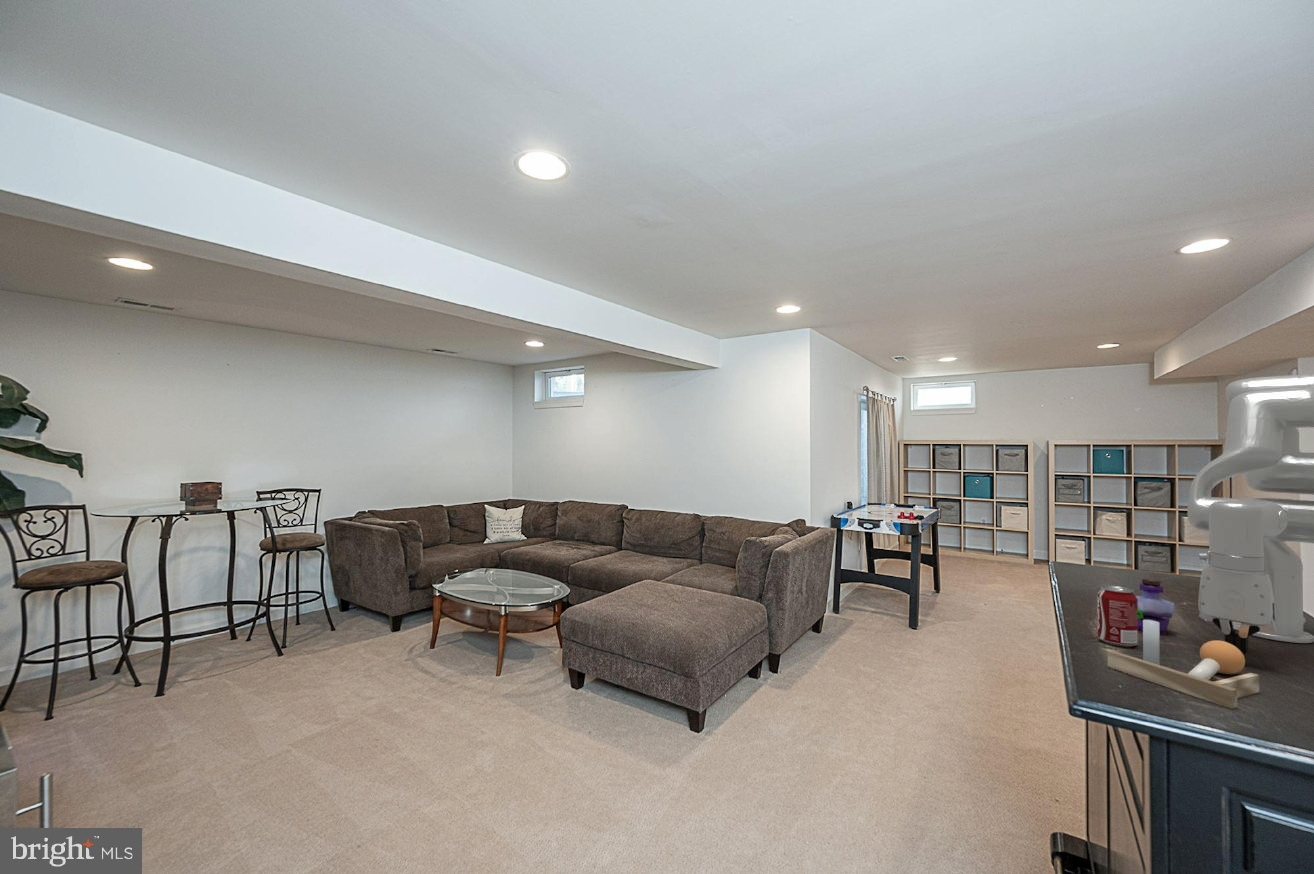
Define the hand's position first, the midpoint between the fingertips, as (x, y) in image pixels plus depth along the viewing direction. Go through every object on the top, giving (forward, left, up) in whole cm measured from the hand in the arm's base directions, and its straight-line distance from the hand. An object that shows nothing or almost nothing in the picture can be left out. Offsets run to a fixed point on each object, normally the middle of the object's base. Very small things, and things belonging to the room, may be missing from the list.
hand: (1236, 654), depth 109 cm
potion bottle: (-7, -18, -2) cm, 20 cm away
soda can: (+11, -15, -2) cm, 18 cm away
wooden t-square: (+21, +2, -2) cm, 21 cm away
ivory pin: (+15, +3, +1) cm, 15 cm away
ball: (+10, +2, +2) cm, 10 cm away
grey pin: (+18, -5, -2) cm, 19 cm away
